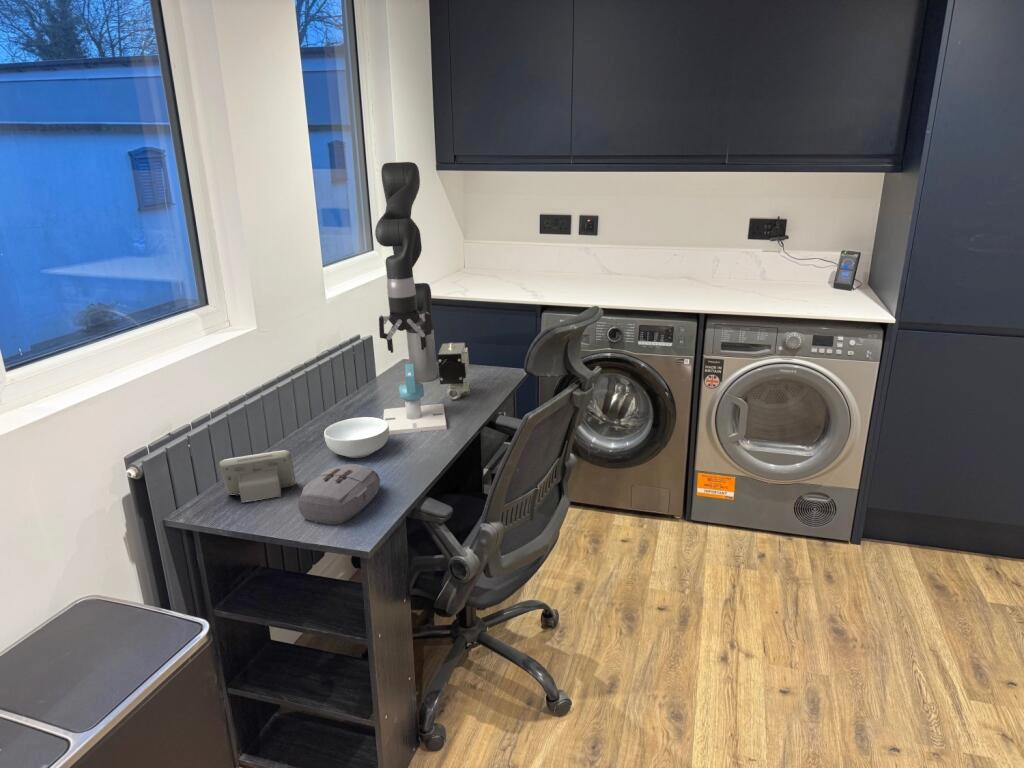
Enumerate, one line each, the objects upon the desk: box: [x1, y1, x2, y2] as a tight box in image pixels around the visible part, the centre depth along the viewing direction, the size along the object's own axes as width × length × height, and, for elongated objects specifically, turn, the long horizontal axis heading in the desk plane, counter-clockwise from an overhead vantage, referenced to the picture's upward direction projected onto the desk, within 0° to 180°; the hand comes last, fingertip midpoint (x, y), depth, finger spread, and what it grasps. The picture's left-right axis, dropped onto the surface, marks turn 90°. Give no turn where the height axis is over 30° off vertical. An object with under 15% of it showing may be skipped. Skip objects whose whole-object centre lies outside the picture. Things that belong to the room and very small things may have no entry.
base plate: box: [382, 398, 448, 436], centre depth 210 cm, size 18×18×8 cm
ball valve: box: [437, 341, 471, 401], centre depth 227 cm, size 18×8×18 cm, turn 179°
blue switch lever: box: [398, 363, 425, 401], centre depth 207 cm, size 12×7×8 cm, turn 8°
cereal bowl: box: [323, 416, 390, 459], centre depth 190 cm, size 17×17×7 cm
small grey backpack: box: [298, 463, 381, 525], centre depth 163 cm, size 15×8×20 cm
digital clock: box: [218, 449, 297, 502], centre depth 169 cm, size 16×9×11 cm, turn 95°
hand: (407, 350), depth 200 cm, fingers open, 8 cm apart
